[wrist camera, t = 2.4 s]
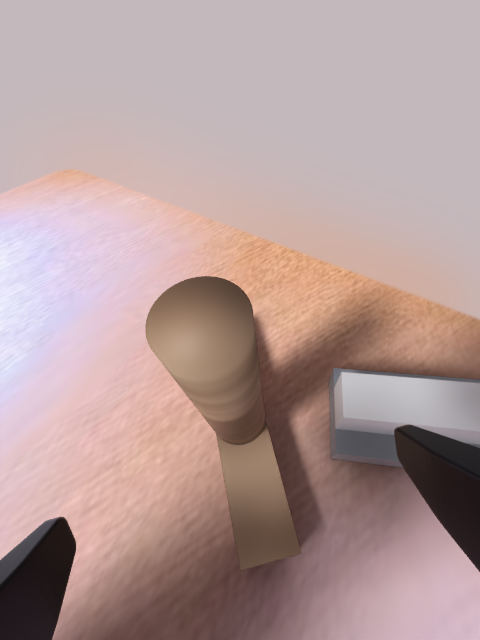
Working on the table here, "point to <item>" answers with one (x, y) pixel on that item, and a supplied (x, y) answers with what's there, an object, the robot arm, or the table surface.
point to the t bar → (227, 405)
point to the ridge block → (397, 411)
